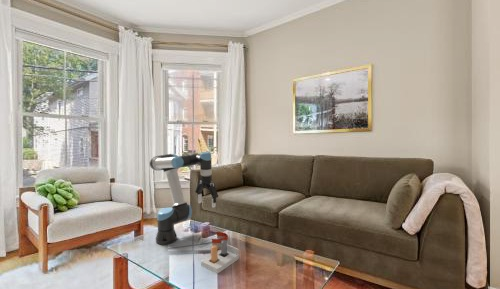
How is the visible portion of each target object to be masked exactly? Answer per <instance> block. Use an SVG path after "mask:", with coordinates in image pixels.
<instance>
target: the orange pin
mask: <svg viewBox="0 0 500 289" xmlns="http://www.w3.org/2000/svg"><path fill="white" fill-rule="evenodd" d="M217 251H218V250H217V246H216V245H213V246H212V245H211V246H210V255H211V262H212V263H214V264H215V263H216V262H218V255H217Z"/></svg>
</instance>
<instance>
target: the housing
mask: <svg viewBox="0 0 500 289" xmlns="http://www.w3.org/2000/svg"><path fill="white" fill-rule="evenodd" d="M239 251H240V249H239V248H238V247H235V246H232V245H230V244H228V243H227V256H226V257H222V256H221V250H217V255H218V262H216V263H215V264H214V263H212V262H211V254H210V255H209V256H208V257H206V258H204V259H202V260H201V261H200V265H201V267H203V268H206V269H208V270H209V271H211V272H213V273H215V274H219V273H221V272H222V271H223V270H225V269H227V268H228V267H229V266H231V265H232V264H234V263H235V262H237V261H238V260H239V259H240V252H239Z"/></svg>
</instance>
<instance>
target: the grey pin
mask: <svg viewBox="0 0 500 289" xmlns="http://www.w3.org/2000/svg"><path fill="white" fill-rule="evenodd" d="M227 244H228V243H227V240H221V256H222V257H226V256H227Z"/></svg>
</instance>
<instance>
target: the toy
mask: <svg viewBox="0 0 500 289" xmlns="http://www.w3.org/2000/svg"><path fill="white" fill-rule="evenodd" d="M215 232H216V237H217V238H212V239H211V246H213V245H216V246H217V251H219V250H221V240H227V244H228V243H229V235H228V234H227V233H226V232H222V231H215Z"/></svg>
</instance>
